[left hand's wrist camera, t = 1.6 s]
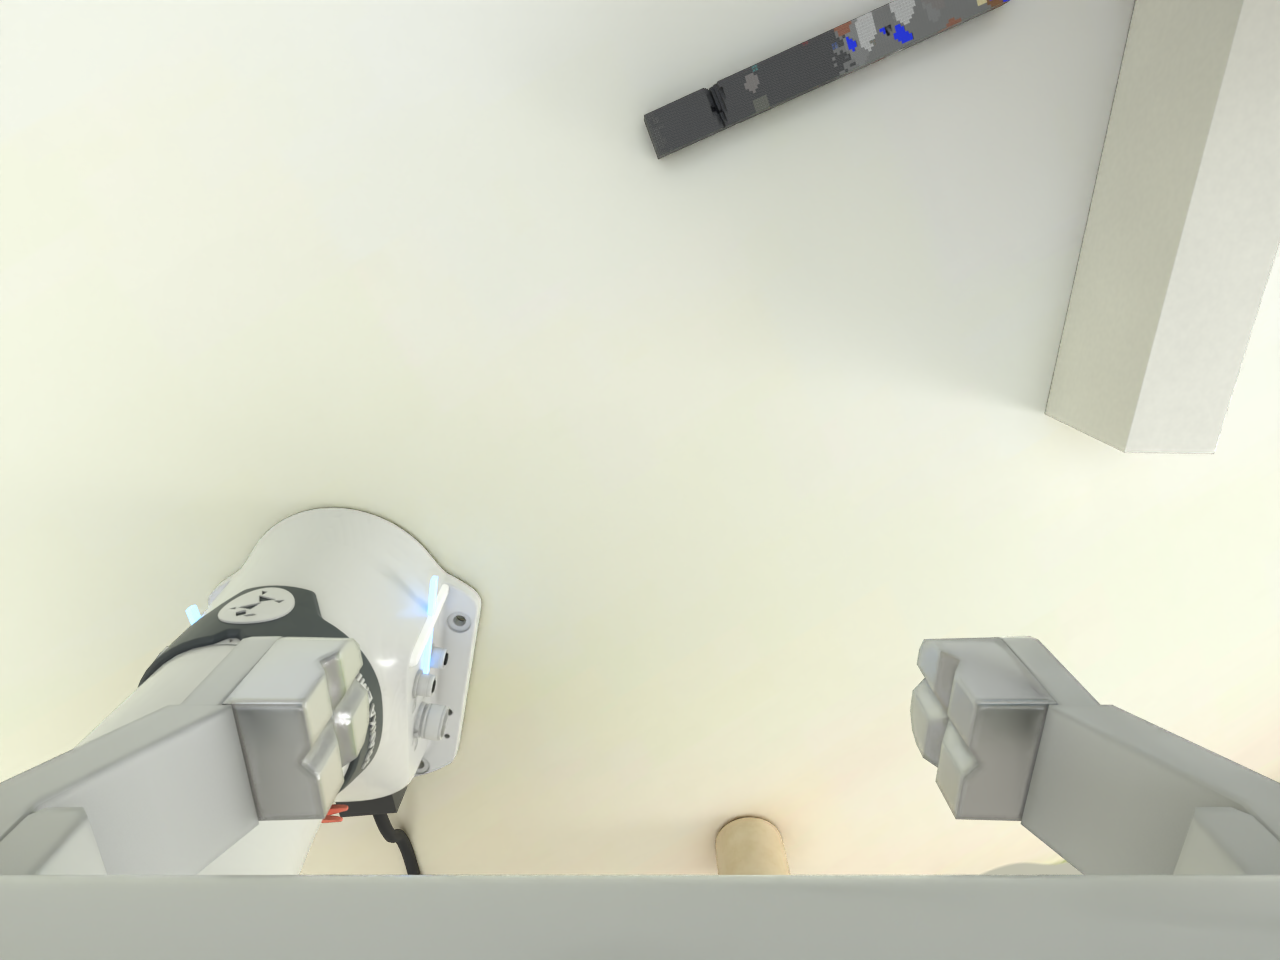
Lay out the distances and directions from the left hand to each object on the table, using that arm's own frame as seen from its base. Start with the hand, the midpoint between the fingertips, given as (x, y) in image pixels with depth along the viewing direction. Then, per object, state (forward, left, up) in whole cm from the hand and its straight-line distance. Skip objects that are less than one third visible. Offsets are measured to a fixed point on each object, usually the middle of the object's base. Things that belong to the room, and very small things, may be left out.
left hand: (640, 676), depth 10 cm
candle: (-42, -10, -36) cm, 56 cm away
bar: (+8, -29, -36) cm, 47 cm away
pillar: (+14, -10, -36) cm, 40 cm away
